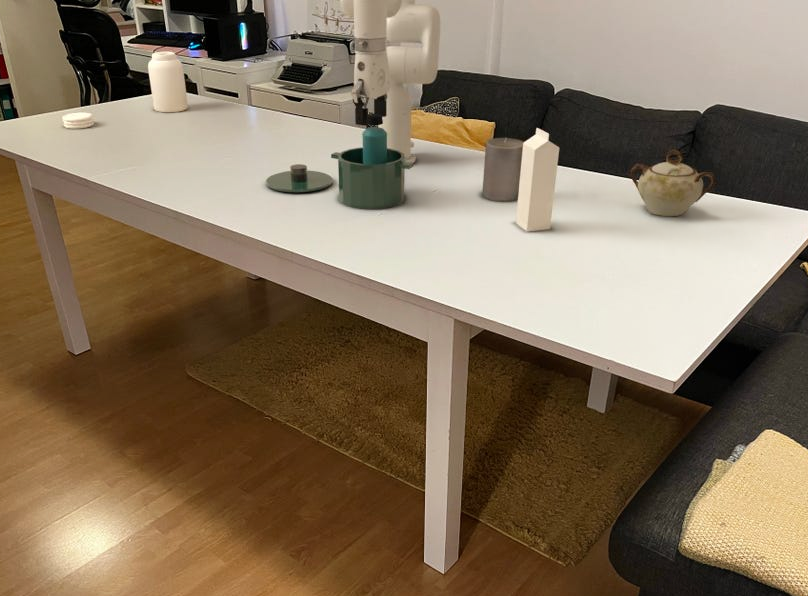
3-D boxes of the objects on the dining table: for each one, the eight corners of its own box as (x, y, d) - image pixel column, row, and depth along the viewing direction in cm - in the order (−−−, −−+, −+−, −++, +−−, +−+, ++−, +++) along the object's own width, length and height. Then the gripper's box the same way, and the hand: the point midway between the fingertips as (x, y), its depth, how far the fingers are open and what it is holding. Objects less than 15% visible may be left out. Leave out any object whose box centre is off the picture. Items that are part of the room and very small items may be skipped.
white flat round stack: (73, 121, 265) (70, 111, 263) (99, 122, 263) (97, 112, 262) (58, 128, 256) (56, 118, 254) (86, 129, 255) (83, 119, 253)
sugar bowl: (616, 212, 183) (626, 151, 176) (633, 196, 194) (643, 137, 186) (699, 227, 174) (714, 163, 167) (713, 209, 185) (727, 148, 178)
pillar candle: (497, 187, 200) (501, 130, 193) (527, 195, 194) (533, 137, 187) (474, 195, 194) (477, 137, 187) (504, 204, 188) (509, 144, 181)
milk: (526, 232, 172) (536, 135, 160) (515, 223, 177) (523, 128, 165) (550, 229, 173) (561, 132, 162) (538, 220, 178) (548, 126, 167)
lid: (289, 171, 213) (288, 154, 211) (344, 179, 206) (343, 162, 204) (253, 188, 199) (251, 170, 197) (310, 198, 192) (309, 179, 190)
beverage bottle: (386, 198, 191) (386, 118, 181) (360, 197, 192) (359, 117, 181) (389, 190, 196) (390, 112, 186) (364, 189, 197) (363, 111, 187)
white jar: (148, 112, 278) (139, 54, 268) (162, 105, 289) (154, 49, 279) (180, 113, 276) (172, 55, 266) (193, 106, 287) (186, 50, 277)
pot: (349, 183, 203) (348, 142, 197) (423, 195, 194) (425, 153, 189) (318, 201, 190) (316, 158, 185) (396, 214, 182) (396, 169, 176)
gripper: (367, 52, 166) (368, 130, 175) (401, 41, 179) (400, 114, 188) (338, 49, 169) (340, 126, 177) (373, 39, 182) (373, 111, 191)
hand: (371, 120), depth 183 cm, fingers open, 9 cm apart
